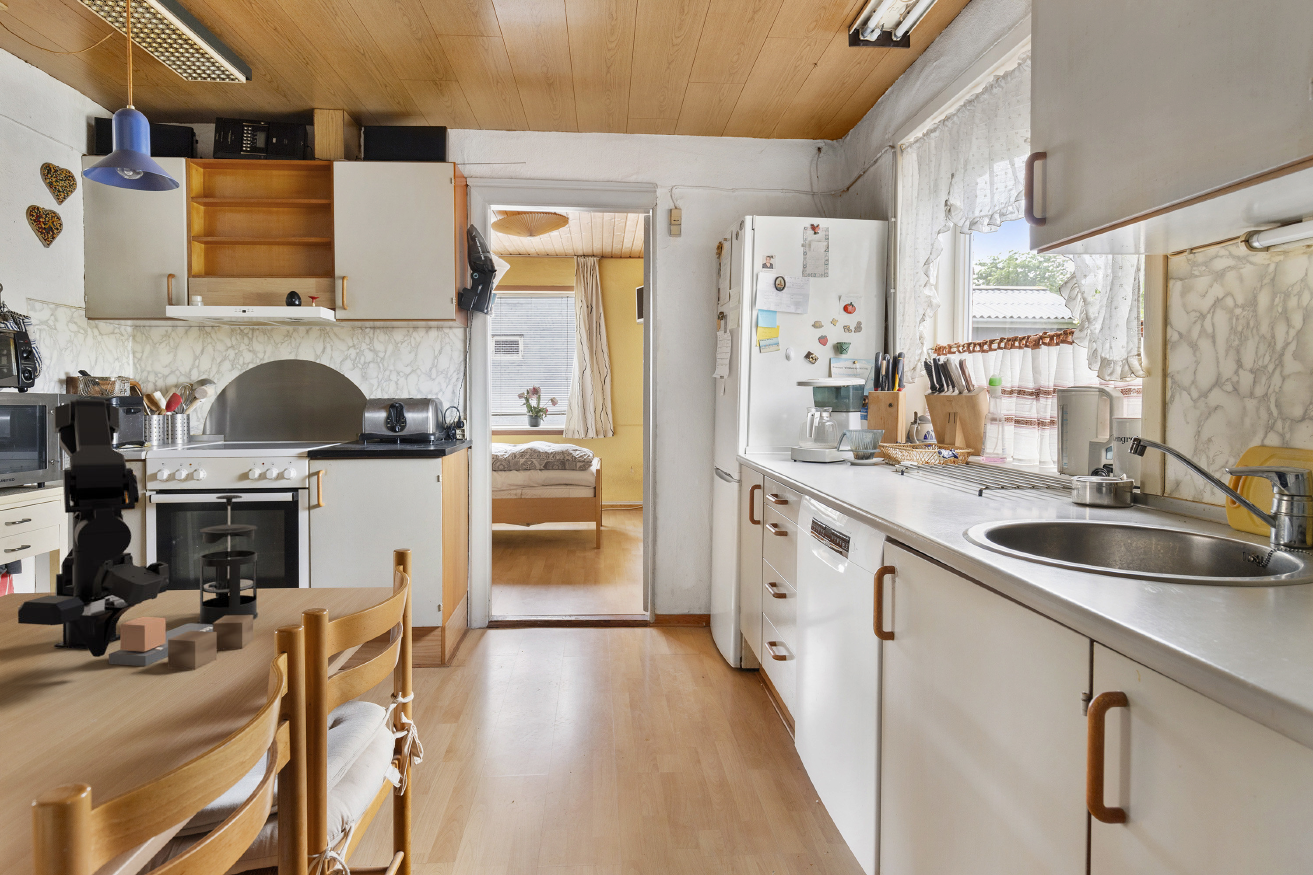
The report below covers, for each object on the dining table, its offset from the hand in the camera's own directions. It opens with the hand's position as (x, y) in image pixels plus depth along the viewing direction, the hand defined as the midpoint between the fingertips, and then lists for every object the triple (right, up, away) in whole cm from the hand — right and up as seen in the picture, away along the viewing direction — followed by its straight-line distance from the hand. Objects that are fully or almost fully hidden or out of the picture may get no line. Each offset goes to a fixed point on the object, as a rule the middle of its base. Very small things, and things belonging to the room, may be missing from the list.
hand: (98, 655), depth 102 cm
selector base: (+1, -3, +13) cm, 13 cm away
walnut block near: (+10, -3, +6) cm, 12 cm away
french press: (+1, -2, +29) cm, 30 cm away
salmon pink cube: (+1, -1, +8) cm, 8 cm away
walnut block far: (+10, -3, +15) cm, 18 cm away
